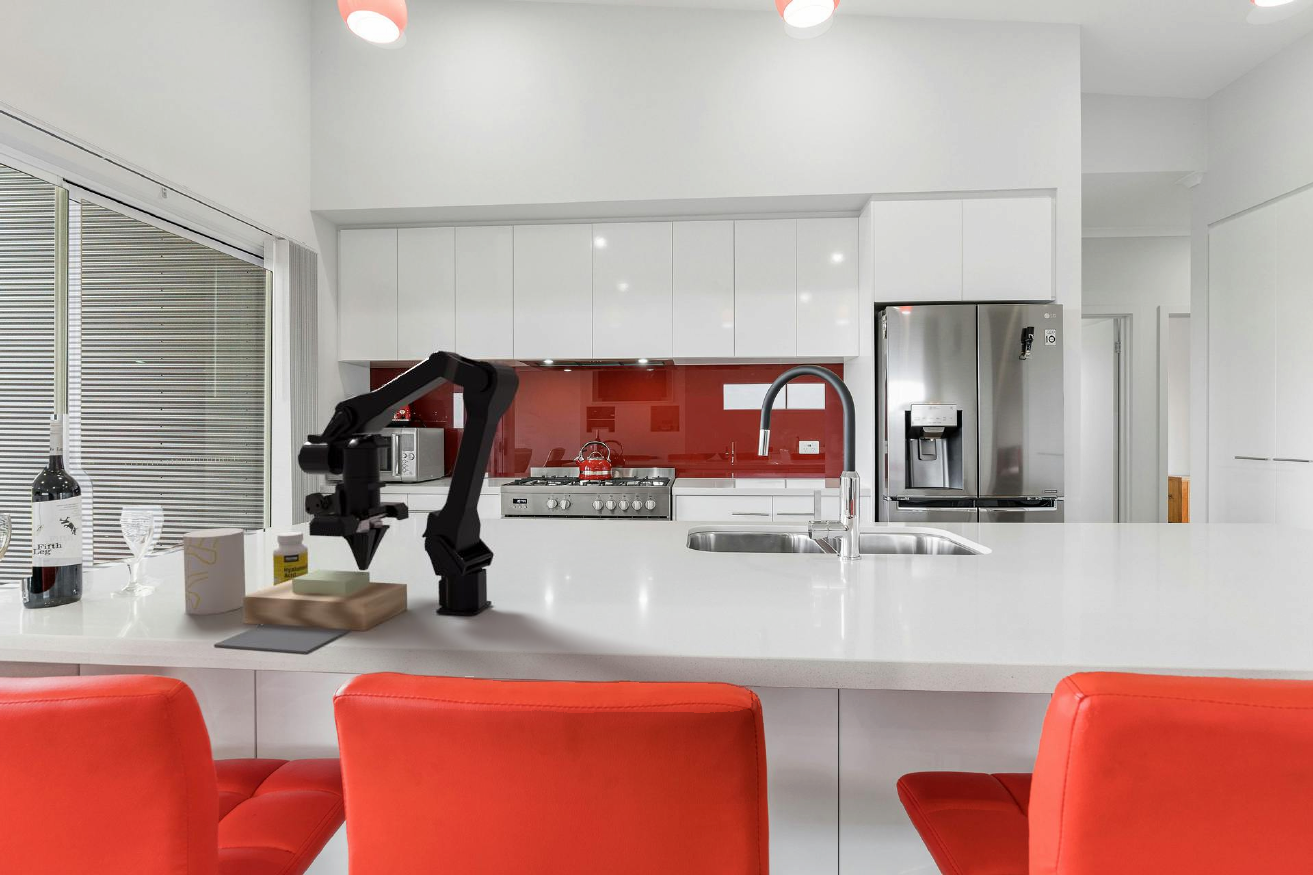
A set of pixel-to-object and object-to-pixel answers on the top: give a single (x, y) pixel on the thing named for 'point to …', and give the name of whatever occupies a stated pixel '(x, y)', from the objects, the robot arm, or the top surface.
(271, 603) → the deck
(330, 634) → the mat
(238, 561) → the cup
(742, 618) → the top surface
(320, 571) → the pale green foam block
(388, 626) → the top surface
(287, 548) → the supplement bottle
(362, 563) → the robot arm
